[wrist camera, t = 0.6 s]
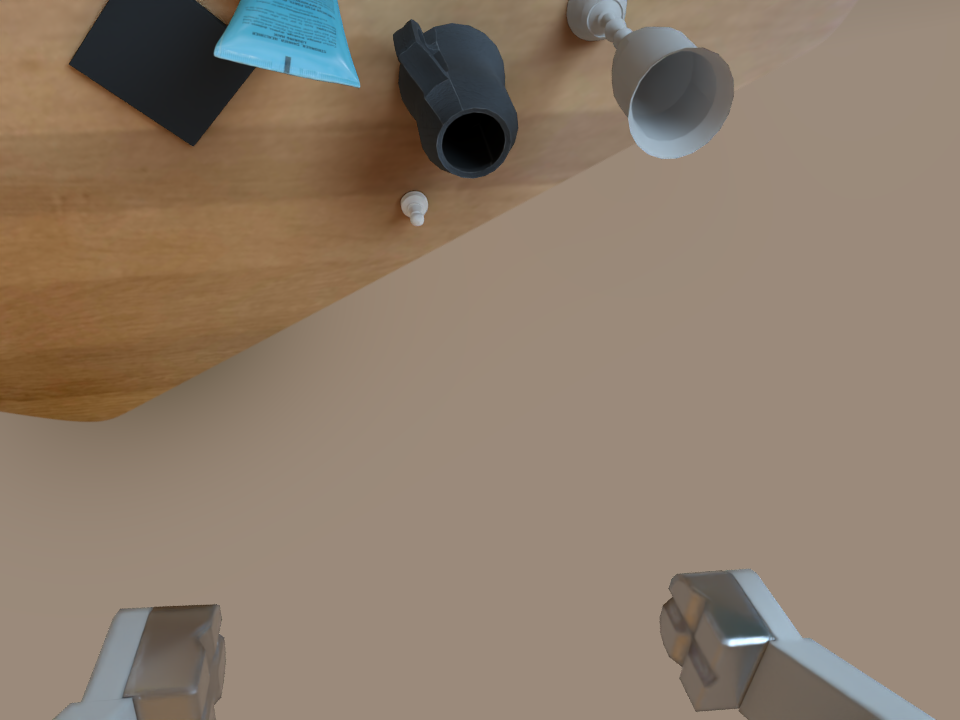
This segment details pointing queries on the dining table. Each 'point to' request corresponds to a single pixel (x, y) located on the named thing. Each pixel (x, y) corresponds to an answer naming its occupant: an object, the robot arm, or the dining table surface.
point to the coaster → (162, 62)
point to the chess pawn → (414, 207)
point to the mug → (456, 97)
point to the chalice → (659, 79)
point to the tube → (290, 39)
